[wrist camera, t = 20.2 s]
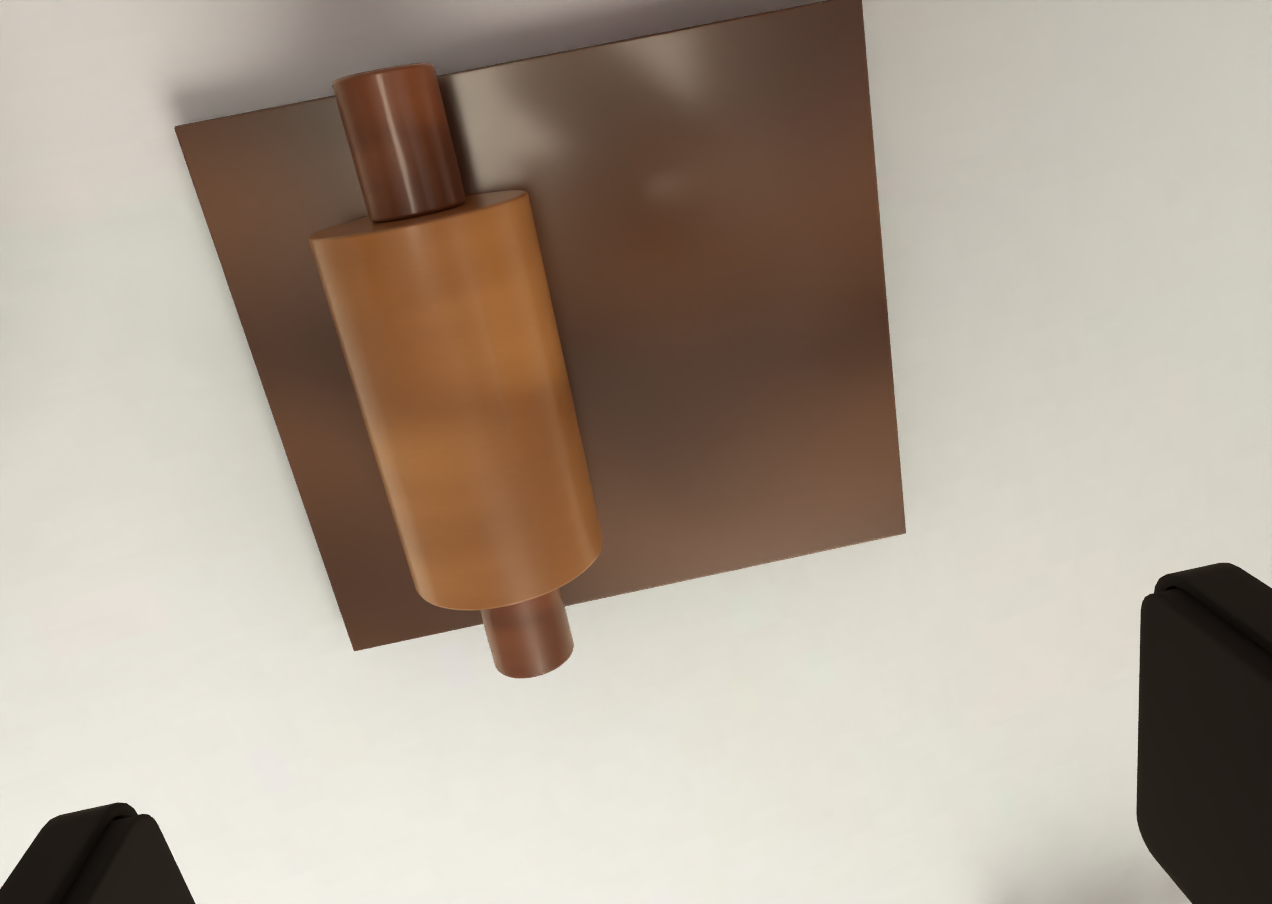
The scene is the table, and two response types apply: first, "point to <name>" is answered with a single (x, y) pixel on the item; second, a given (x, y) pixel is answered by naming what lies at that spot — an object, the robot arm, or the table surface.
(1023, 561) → the table surface
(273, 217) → the pastry board
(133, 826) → the robot arm
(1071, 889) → the table surface
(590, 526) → the rolling pin
